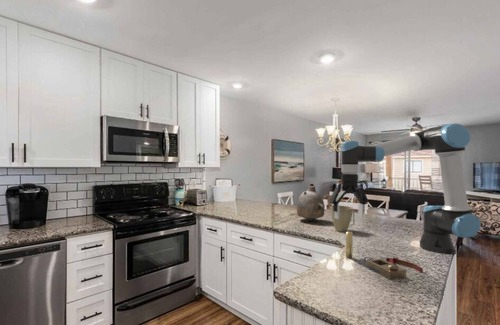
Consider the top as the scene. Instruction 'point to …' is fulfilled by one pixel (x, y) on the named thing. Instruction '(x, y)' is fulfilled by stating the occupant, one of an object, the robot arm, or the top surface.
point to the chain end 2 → (387, 269)
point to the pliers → (401, 262)
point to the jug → (310, 204)
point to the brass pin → (349, 244)
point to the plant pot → (342, 218)
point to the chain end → (363, 262)
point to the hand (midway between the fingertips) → (348, 218)
